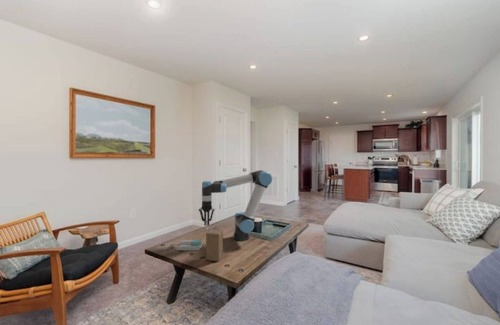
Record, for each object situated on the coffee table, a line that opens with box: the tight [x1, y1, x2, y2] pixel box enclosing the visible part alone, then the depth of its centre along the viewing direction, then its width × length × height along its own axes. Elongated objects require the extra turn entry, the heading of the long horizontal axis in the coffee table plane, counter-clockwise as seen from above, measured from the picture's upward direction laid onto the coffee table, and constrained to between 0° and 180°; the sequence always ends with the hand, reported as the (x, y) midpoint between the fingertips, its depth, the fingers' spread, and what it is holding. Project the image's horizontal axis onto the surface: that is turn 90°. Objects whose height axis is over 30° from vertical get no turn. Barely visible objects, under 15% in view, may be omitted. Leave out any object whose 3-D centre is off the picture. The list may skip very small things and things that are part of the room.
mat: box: [166, 244, 174, 252], centre depth 185 cm, size 8×11×1 cm
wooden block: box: [205, 228, 224, 262], centre depth 166 cm, size 10×10×20 cm
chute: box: [175, 240, 204, 251], centre depth 185 cm, size 18×12×4 cm, turn 90°
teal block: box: [191, 238, 202, 247], centre depth 185 cm, size 6×6×5 cm
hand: (206, 229), depth 184 cm, fingers closed
